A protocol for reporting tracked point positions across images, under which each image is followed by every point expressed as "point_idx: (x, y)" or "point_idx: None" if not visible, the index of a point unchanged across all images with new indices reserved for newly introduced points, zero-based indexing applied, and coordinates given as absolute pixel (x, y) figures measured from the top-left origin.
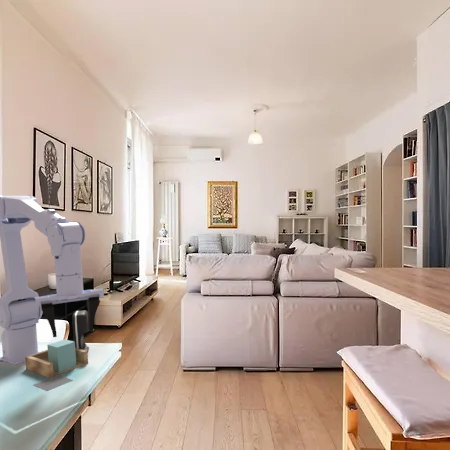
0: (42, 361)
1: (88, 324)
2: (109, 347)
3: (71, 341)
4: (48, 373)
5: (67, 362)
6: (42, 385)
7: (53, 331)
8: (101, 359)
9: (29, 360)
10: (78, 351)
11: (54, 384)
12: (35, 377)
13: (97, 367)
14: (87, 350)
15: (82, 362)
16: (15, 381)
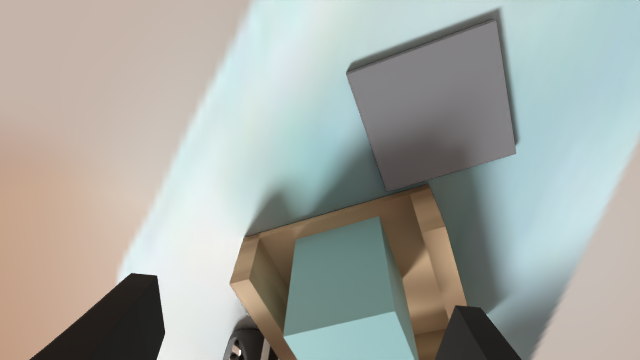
0: (451, 287)
1: (139, 357)
2: None
3: (298, 352)
4: (435, 203)
5: (336, 249)
6: (486, 114)
7: (505, 349)
8: (182, 255)
9: None
10: (270, 309)
11: (438, 83)
12: (465, 245)
13: (209, 178)
14: (226, 356)
15: (265, 253)
16: (539, 256)
